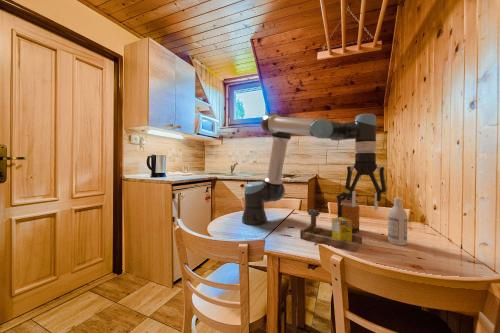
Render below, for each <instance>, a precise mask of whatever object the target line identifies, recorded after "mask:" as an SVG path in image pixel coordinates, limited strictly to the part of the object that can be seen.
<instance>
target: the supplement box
mask: <svg viewBox="0 0 500 333" xmlns="http://www.w3.org/2000/svg"><path fill="white" fill-rule="evenodd" d="M331 228H332V229H331V230H332V237H331V238H334V239H338V240H343V241H347V242H352V234H353V232H352V220H349V219H347V218H344V217H338V216H337V217H332V218H331ZM352 243H353V242H352Z"/></svg>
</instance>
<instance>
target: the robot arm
mask: <svg viewBox="0 0 500 333" xmlns="http://www.w3.org/2000/svg"><path fill="white" fill-rule="evenodd" d="M260 126H261V129H262V130H263V131H264V132H265V133H267V134H269V135H271V136H270V137H271V139H272V146H271V152H270V158H269V165H268V171H267V176H266V177H265V178H264V181H253V182H249V183H247V184H245V186H244V190H243V191H244V209H243V210H244V211H243V213H242V216H241V222H242V223H243V224H245V225H250V226H258V225H264V224H267V222H268V217H267V213H266V211H265V203H270V202H277V201H280V200H282V199H283V198H284V196H285V194H286V189H285V186H284V184H283V183H284V182H283V180H282V176H283V175H282V174H283V170H284V163H285V158H286V151H287V145H288V142H289V141H290V140H291V138H292V136H293V135H299V136H300V135H301V136H307V137H313V138H317V139H327V140H331V141H338V142H339V141H346V140H355V142H354V143H355V147H354V150H355V155H354V164H353V165H351V166H349V165H348V166H346V170H347V172H346V175H347V176H346V181H345V187H344V189H345V190H348V191H349V193H350V198H351V199H352V207H355V206H356V200H357V197H356V194H357V191H356V190H355V189H356V186H357V185H358V182H359V180H360V178H361V176H364V175H365V176H369V178H370V180H371V182H372V185H373V187H374V189H375V191H376V192H375V193H374V205H373V206H374V209H373V210H374V211H375V210H376V211H377V210H378V209H379V207H378V206H379V202H381V201H382V194H383V193H386V192H387V184H386V179H385V169H386V168H385V167H384V166H379V165H377V154H376V152H377V126H378V125H377V116H376V115H375V114H374V113H361V114H357V115H356V116H355V119H354V120H353V121H347V122H341V121H334V120H329V119H325V118H319V119H316V118H305V117H304V118H303V117H294V116H291V115H287V114H281V113H274V112H269V113H266V114H265V115H263V116H262V118H261V121H260ZM354 170H355V172H356V174H355V176H354V178H353V181H352V177H353V176H352V175H353V171H354ZM376 170H377V172H378V173H379V180H380V185H379V183H378V180H377V178H376V176H375V173H374V172H375V171H376ZM351 182H352V183H351Z"/></svg>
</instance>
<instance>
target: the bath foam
mask: <svg viewBox="0 0 500 333" xmlns="http://www.w3.org/2000/svg"><path fill="white" fill-rule="evenodd" d="M387 220H388V221H387V222H388V223H387V240H388V242H389V243H390V244H392V245H396V246H406V245H407V244H408V220H409V219H408V214H407V212H406V211H405V209H404V207H403V198H402V197H394V198H393V206H392V207H391V209H390V210H389V212H388V219H387Z"/></svg>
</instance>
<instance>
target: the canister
mask: <svg viewBox="0 0 500 333" xmlns="http://www.w3.org/2000/svg"><path fill="white" fill-rule="evenodd" d="M335 197H336V199H337V217H344V218H347V219H349V220H352V233H357V232H359V231H360V209H361V208H360V206H359V201H358V199H356V206H355V207H352V199H351V198H350V192H345V191H343V192H342V193H340V194H338V195H336V196H335ZM357 197H359V194H357V193H356V198H357Z"/></svg>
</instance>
